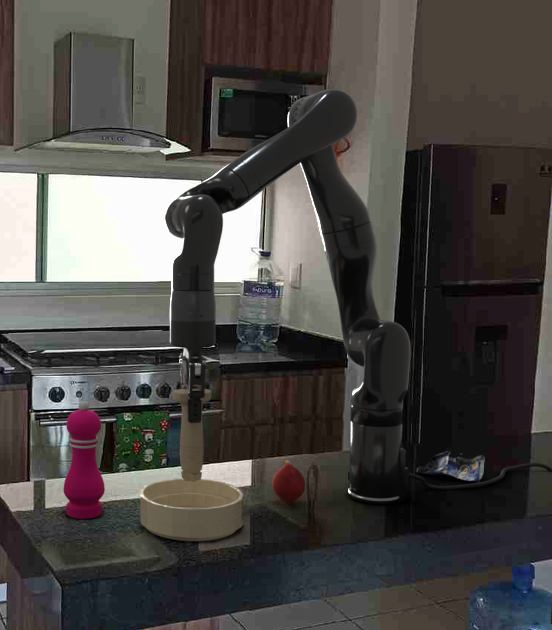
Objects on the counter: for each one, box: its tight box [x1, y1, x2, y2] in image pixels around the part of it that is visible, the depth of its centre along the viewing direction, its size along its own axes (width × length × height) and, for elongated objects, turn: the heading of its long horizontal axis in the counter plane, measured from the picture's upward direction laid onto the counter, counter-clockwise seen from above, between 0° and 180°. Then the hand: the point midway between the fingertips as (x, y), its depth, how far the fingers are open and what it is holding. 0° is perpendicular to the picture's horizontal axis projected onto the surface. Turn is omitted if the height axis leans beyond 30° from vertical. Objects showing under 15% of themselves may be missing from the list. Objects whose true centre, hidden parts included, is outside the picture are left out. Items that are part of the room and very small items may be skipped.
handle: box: [172, 388, 212, 482], centre depth 138 cm, size 5×6×15 cm
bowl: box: [139, 478, 245, 542], centre depth 139 cm, size 17×17×6 cm
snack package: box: [416, 450, 486, 483], centre depth 168 cm, size 12×6×12 cm
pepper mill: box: [62, 400, 106, 520], centre depth 144 cm, size 7×7×20 cm
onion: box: [271, 460, 306, 505], centre depth 150 cm, size 6×6×8 cm
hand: (192, 418), depth 138 cm, fingers closed on handle, 5 cm apart
